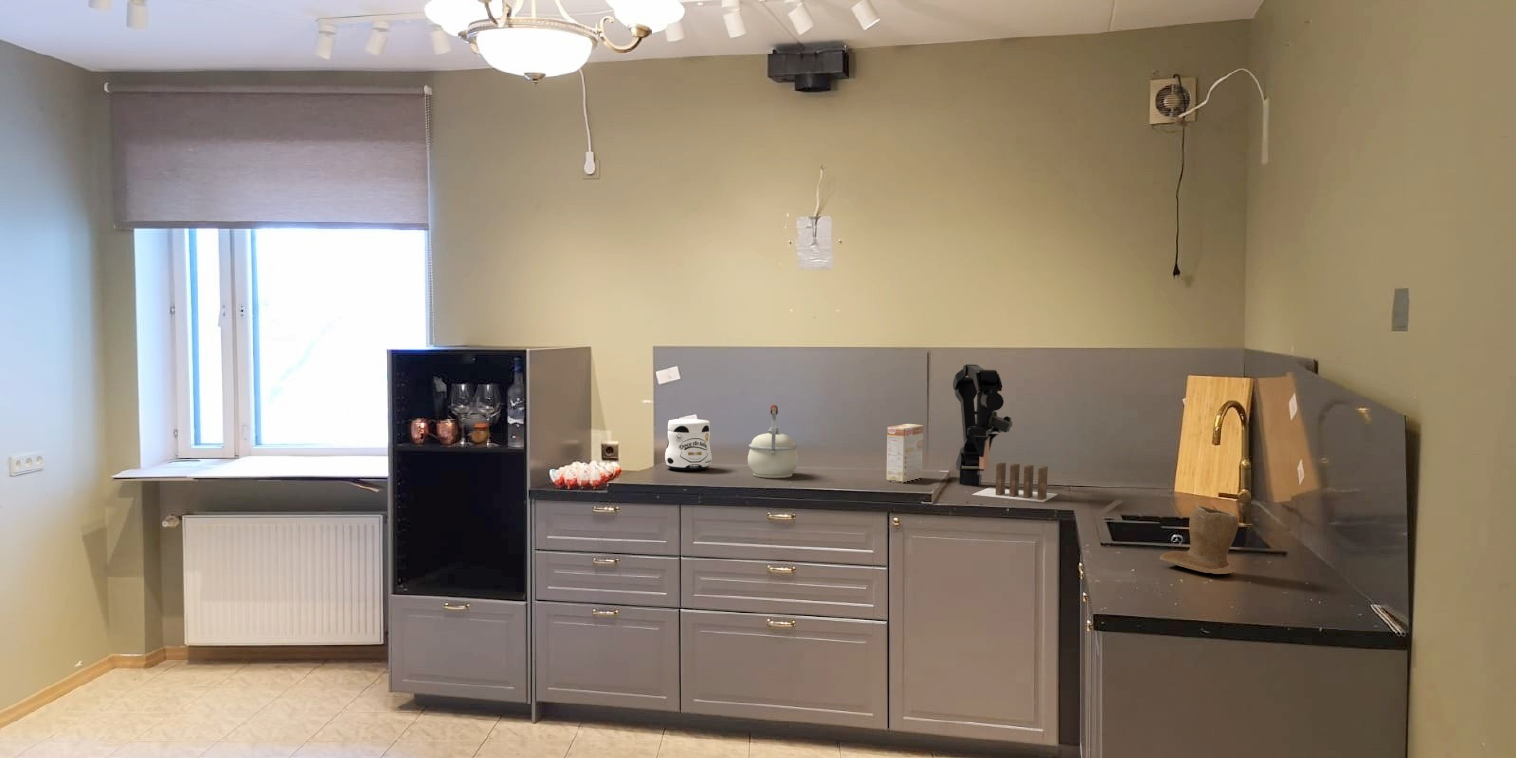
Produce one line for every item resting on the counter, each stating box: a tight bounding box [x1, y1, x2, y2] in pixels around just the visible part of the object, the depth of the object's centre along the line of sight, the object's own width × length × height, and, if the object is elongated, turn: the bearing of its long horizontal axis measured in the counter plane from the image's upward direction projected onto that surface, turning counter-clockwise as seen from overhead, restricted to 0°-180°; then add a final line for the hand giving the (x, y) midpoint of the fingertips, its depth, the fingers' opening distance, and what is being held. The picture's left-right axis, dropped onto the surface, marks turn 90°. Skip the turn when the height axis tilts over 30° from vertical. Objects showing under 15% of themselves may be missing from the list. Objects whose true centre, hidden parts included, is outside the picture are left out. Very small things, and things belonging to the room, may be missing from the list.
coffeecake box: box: [886, 423, 924, 481], centre depth 379 cm, size 15×7×20 cm, turn 144°
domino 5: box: [1037, 465, 1049, 500], centre depth 337 cm, size 2×5×10 cm, turn 150°
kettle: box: [747, 404, 799, 479], centre depth 385 cm, size 25×18×25 cm
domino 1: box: [979, 438, 990, 470], centre depth 347 cm, size 2×5×10 cm, turn 151°
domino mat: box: [971, 486, 1058, 503], centre depth 345 cm, size 23×18×1 cm
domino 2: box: [995, 462, 1007, 496], centre depth 344 cm, size 2×5×10 cm, turn 150°
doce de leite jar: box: [664, 418, 713, 471], centre depth 395 cm, size 17×17×18 cm
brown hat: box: [1159, 505, 1239, 569], centre depth 247 cm, size 15×12×15 cm
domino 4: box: [1022, 464, 1035, 498], centre depth 340 cm, size 2×5×10 cm, turn 150°
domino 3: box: [1009, 463, 1021, 497], centre depth 342 cm, size 2×5×10 cm, turn 150°
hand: (984, 456), depth 347 cm, fingers closed on domino 1, 5 cm apart
